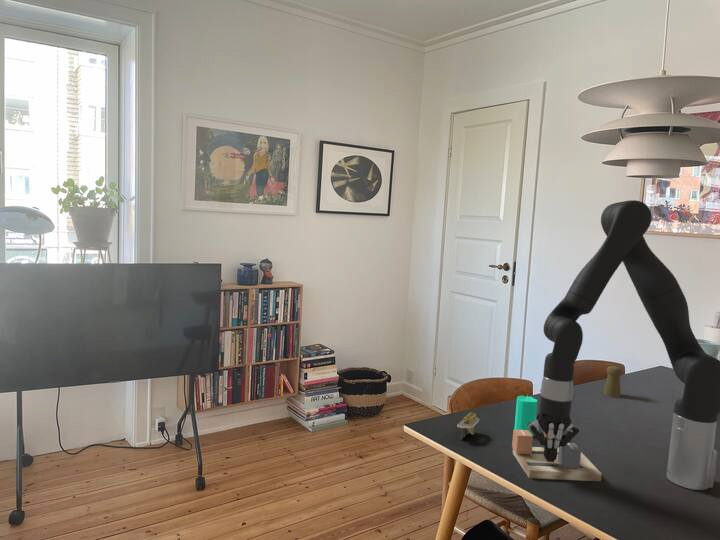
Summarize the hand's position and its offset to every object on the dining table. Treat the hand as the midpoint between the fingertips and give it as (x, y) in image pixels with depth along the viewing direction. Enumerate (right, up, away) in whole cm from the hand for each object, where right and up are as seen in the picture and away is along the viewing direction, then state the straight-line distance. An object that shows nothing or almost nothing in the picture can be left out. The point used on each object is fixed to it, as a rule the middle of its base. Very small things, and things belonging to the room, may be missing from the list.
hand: (549, 460), depth 135 cm
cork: (+47, +1, +66) cm, 81 cm away
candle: (+1, -1, +26) cm, 26 cm away
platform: (-17, -1, +21) cm, 27 cm away
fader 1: (-5, 0, +7) cm, 9 cm away
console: (+3, -3, +4) cm, 6 cm away
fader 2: (+5, -1, 0) cm, 5 cm away
